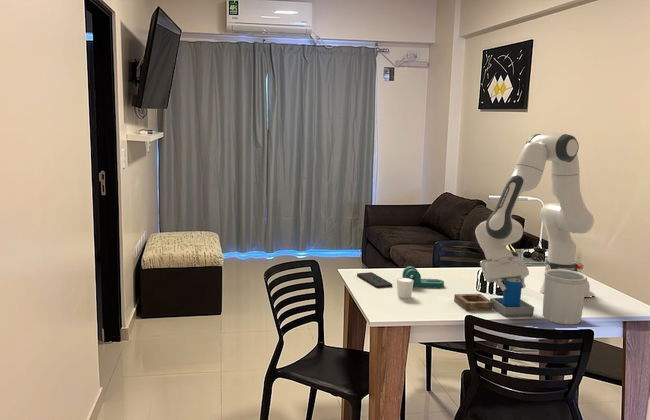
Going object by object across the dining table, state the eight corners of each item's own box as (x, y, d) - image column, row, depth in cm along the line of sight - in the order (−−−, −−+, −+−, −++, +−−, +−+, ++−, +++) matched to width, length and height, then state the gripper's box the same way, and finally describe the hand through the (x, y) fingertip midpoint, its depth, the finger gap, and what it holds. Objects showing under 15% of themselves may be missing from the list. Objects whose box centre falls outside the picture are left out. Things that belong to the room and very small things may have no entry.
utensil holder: (551, 325, 211) (556, 279, 208) (533, 311, 225) (538, 268, 222) (589, 325, 212) (595, 279, 209) (569, 312, 227) (574, 269, 224)
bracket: (404, 287, 251) (406, 270, 250) (402, 283, 258) (403, 266, 257) (445, 288, 252) (446, 271, 251) (441, 284, 259) (442, 267, 258)
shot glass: (415, 295, 239) (416, 279, 238) (408, 299, 234) (409, 283, 233) (400, 292, 243) (401, 276, 242) (393, 296, 237) (394, 279, 236)
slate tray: (517, 305, 232) (517, 297, 231) (533, 315, 220) (534, 307, 220) (489, 306, 229) (490, 297, 229) (504, 316, 218) (505, 308, 217)
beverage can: (520, 312, 221) (523, 282, 219) (502, 310, 222) (505, 281, 220) (518, 307, 227) (521, 278, 225) (501, 305, 228) (504, 276, 226)
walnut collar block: (479, 300, 236) (480, 293, 236) (492, 309, 225) (493, 302, 225) (454, 301, 234) (454, 294, 233) (465, 310, 223) (466, 303, 223)
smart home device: (376, 285, 248) (356, 273, 266) (376, 289, 248) (356, 276, 266) (393, 283, 251) (372, 271, 269) (393, 287, 251) (371, 275, 269)
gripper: (482, 256, 223) (498, 287, 216) (522, 252, 232) (538, 282, 225) (474, 264, 228) (489, 295, 221) (513, 260, 237) (528, 290, 229)
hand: (514, 288), depth 223 cm, fingers open, 8 cm apart
